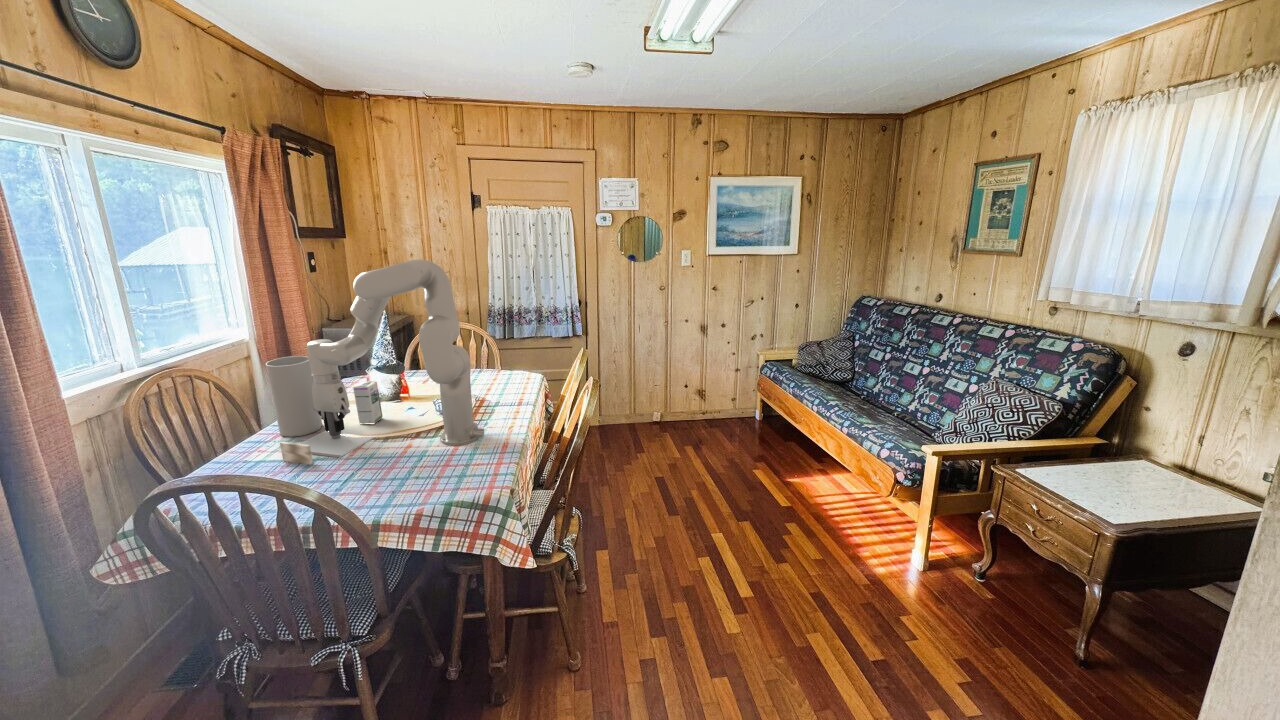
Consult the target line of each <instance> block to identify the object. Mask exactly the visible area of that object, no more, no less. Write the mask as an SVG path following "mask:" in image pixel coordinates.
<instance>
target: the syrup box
mask: <svg viewBox="0 0 1280 720" xmlns="http://www.w3.org/2000/svg"><path fill="white" fill-rule="evenodd" d="M352 388H353V395H354V399H355V400H354V401H355V405H356V406H355V407H356V411H357V416H358V424H360V423H375V422H377V421H378V420H380V419H381V418H382V417H383V411H382V406H381V400H380V399H381V398H380V392H379V386H378V382H377V381H372V380H371V381H370V380H369V381H361V382H359V383H358V384H356V385H354V386H353V387H352ZM383 418H384V417H383ZM381 420H382V419H381ZM381 420H380V421H381ZM377 423H378V422H377Z"/></svg>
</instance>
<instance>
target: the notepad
mask: <svg viewBox="0 0 1280 720" xmlns="http://www.w3.org/2000/svg"><path fill="white" fill-rule="evenodd" d="M340 436H341V435H340ZM373 439H375V438H374V437H365V438H350V437H344V436H341V437H339V438H336V439H332V437H331V436H330V434H329V432H328V431H325V430H324V431H323V432H320V433H318V434H316V435H314V436H312V437H310V438H308V439H306V440H304V441H302V442H299V444H305V445H310V449H311V454H312V456H316V457H317V456H319V457H325V458H327V457H328V458H335V459H340V458H342V457H343V456H345V455H347V454H349V453H351V452H352V451H354V450H355V449H358V448H359V447H361V446H363V445H365V444H366V443H368V442H370V441H372V440H373Z"/></svg>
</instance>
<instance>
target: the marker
mask: <svg viewBox="0 0 1280 720" xmlns="http://www.w3.org/2000/svg"><path fill="white" fill-rule="evenodd" d="M326 417H327V423H328V428H329V434H330V436H331V437H332V439H336V438H339V437H341V436H340V434H341V432H342V431H340V432H336V431H335V425H334V421H336V420H335V417H334V414H333V412H326Z"/></svg>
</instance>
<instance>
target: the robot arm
mask: <svg viewBox="0 0 1280 720" xmlns="http://www.w3.org/2000/svg"><path fill="white" fill-rule="evenodd" d="M352 288H353V291H354V294H355V295H356V297H355V299H354V300H353V303H352V305H351V306H350V309H349V310H350V311H349V312H350V314H351V315H352V316H353V317H354V318H355V321H354V322H355V323H354V324H353V327H352V330H351V331H350V333H349V334H348V336H347V337H345V338H343V339H340V340H337V341H335V342H333V341H332V340H331V339H327V338H321V339H320V338H319V339H315V340H311V341H309V342H308V343H307V344H306V352H307V357H308V358H309V363H310V369H311V375H312V380H313V382H312V397H313V404H314V408H313V410H314V411H316V412H317V413H318V414H319V415H320V416H321V420H322V421H323V423H324V429H325V430H324V431H329V428H328V423H327V417H326V412H333V414H334V417H335V420H336V421H334V425H335V431H336V432H340V431H341V432H342V431H344V430H345V429H346V428H345V423H344V418H345V417H346V415H349V414H350V413H351V410H350V409H349V407H350V401H349V398H348V393H347V390H346V387H345V384H344V381H343V380H341V378H342V376H341V375H340V372H339V366H346V365H349V364H350V363H353V362H355V361H356V360H357V359H359V358H362V357H363V356H364V355H365V354H367V352H368V351H369V350H370V347H371V346H372V344H373V342H374V340H375V338H376V336H377V334H378V328H379V320H380V318H381V316H382V315H383V314H384V313H383V312H384V311H385V309H386V308H387V305H388V304H389V301H390V300H391V298H392V297H394V296H397V295H401V294H406V293H409V292H412V291H416V290H419V289H423V290H424V305H425V308H426V314H427V320H426V321H424V322H423V323H422V325H421V326H420V328H419V332H418V340H419V341H418V342H419V345H420V351H421V354H422V359H423V363H424V367H425V371H426V372H427V373H426V374H427V375H428V376H429V378H430V379H431V380H432V381H433V382H434V383H437V384H438V385H439V394H440V404H441V413H442V421H443V428H444V429H443V430H444V432H443V433H441V435H440V438H439V440H440V442H441V443H442V444H443V445H444V444H445V445H446V446H447V445H448V446H461V445H466V444H470V443H473V442H475V441H477V440H478V439H479V438H481V437H482V438H483V437H484V436H485V428H481V427H478V423H476V422H475V421H474V419H475V418H474V410H473V400H472V399H473V397H472V386H471V385H472V384H471V357H470V355H469V353H468V351H467V350H466V349H465V348H464V347H463V346H460V345H458V344H457V345H456V344H453V342H454V341H456V340H457V339H459V336H460V333H461V325H460V321H459V316H458V311H457V307H456V303H455V300H454V299H455V298H454V296H453V291H452V290H453V289H452V285H451V281H450V279H449V276H448V275H447V273H446V271H445V270H444V269H443V268H442V267H441V266H439V264H437V263H434V262H433V261H430V260H427V259H421V258H420V259H419V258H418V259H412V260H411V259H410V260H407V261H403V262H402V261H401V262H399V263H395V264H391V265H388V266H385V267H381V268H377V269H371V270H369V271H363V272H361V273H359V274H358V275H357V276H356V277H355V279H354V281H353V287H352Z"/></svg>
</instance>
